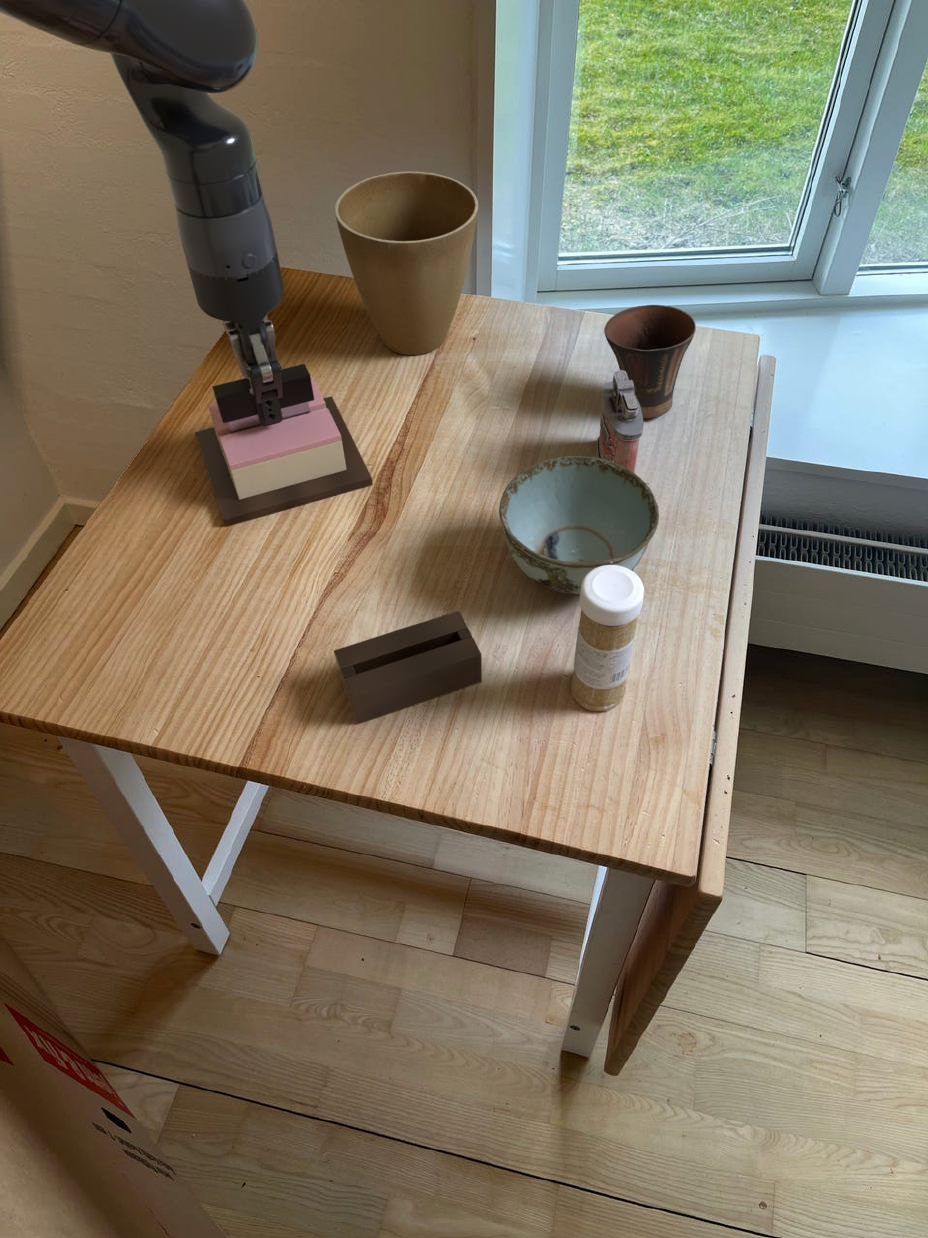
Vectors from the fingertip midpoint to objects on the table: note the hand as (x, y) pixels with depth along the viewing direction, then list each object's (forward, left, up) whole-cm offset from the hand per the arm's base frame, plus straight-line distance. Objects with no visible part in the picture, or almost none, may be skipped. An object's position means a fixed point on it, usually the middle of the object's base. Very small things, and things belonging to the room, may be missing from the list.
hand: (268, 413), depth 92 cm
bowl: (+21, -25, -7) cm, 33 cm away
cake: (0, -2, -5) cm, 6 cm away
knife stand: (+3, -31, -6) cm, 32 cm away
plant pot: (+20, +15, -7) cm, 26 cm away
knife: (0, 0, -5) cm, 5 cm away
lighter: (+31, -14, -7) cm, 35 cm away
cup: (+38, -6, -7) cm, 39 cm away
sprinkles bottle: (+17, -38, -7) cm, 42 cm away
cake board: (0, 0, -6) cm, 6 cm away
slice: (0, +3, -5) cm, 6 cm away
